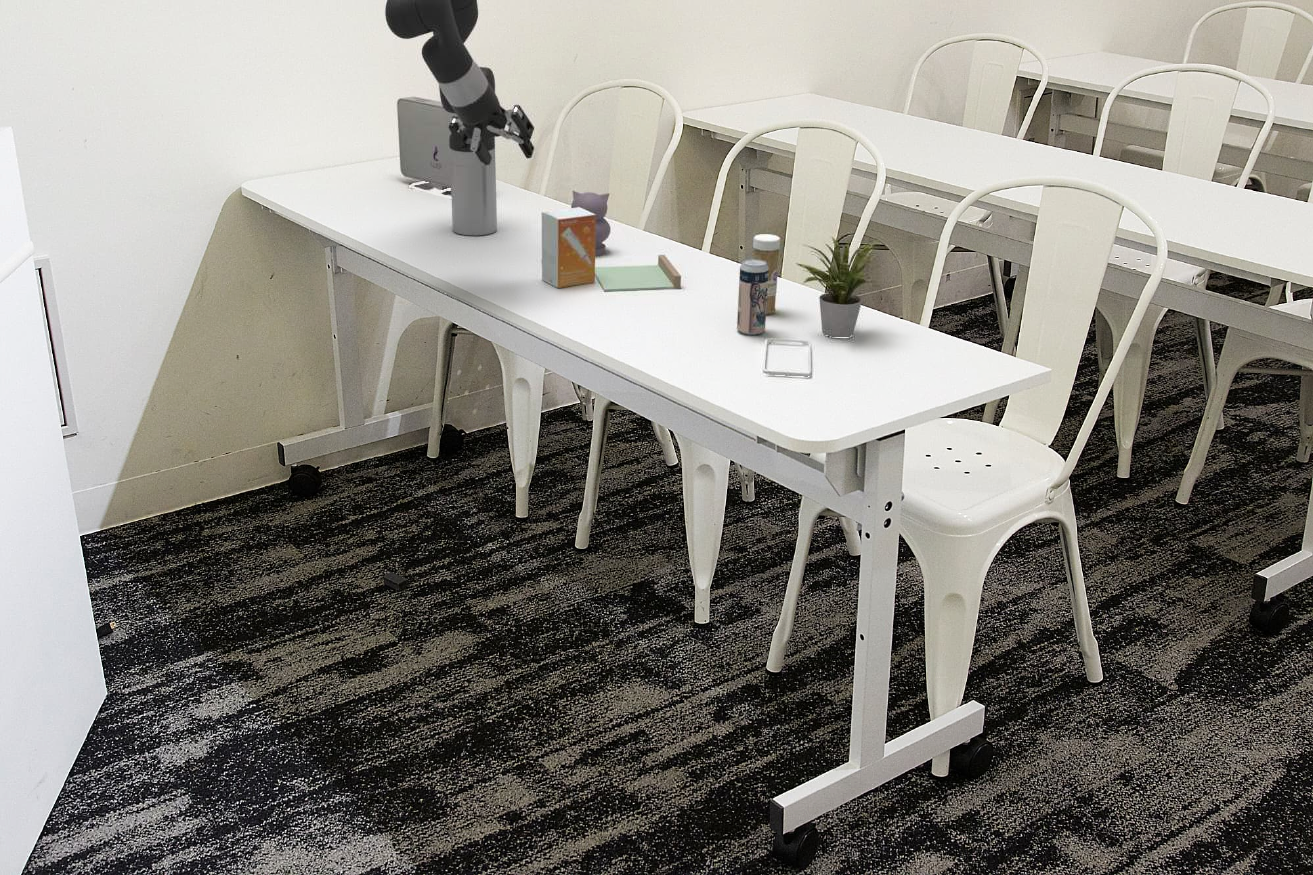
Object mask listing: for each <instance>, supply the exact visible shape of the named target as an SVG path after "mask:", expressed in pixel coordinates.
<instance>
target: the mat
mask: <svg viewBox="0 0 1313 875" xmlns="http://www.w3.org/2000/svg"><path fill="white" fill-rule="evenodd" d="M657 259H658V260H657V261H658V262H657V264H654V265H652V264H651V265H650V264H648V265H647V264H646V265H626V266H625V265H624V266H623V265H622V266H600V267H599V266H598V267H596V266H595V279H597V282H598V283H599V285H600V286H601V288H602V290H603V292H623V291H624V292H626V291H627V292H628V291H631V292H632V291H650V290H652V291H653V290H674V289H675V290H676V289H681V285H682V284H681V282H682V275H681V274H680V273H679V272H678V270H677V269H676V268H675V266H674V265H673V264H672V263H671V262H670V260H669V259H668V257H667V256H666V255H665V254H658V256H657Z"/></svg>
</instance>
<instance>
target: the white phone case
mask: <svg viewBox="0 0 1313 875" xmlns="http://www.w3.org/2000/svg"><path fill="white" fill-rule="evenodd" d="M774 342H787V343H789V342H790V343H801V346H802V345H807V346H808V347H809V349H808V371H806V372H802V371H787V370H786V371H785V370H773V369H772V370H770V369H769V370H768V369H766V361H767V349H768V348H767V346H768V345H770V344H769V343H773V344H774ZM767 344H768V345H767ZM811 345H812V344H811V341H810V340H799V339H784V338H782V339H780V338H766V339H765V341H764V352H763V364H762V366H763V367H762V374H763V373H765V374H769V375H785V376H804V377H808V376H810V375H812V351H811V349H812V348H811ZM807 346H806V347H807ZM808 347H807V348H808Z"/></svg>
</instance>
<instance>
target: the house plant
mask: <svg viewBox="0 0 1313 875" xmlns="http://www.w3.org/2000/svg"><path fill="white" fill-rule="evenodd" d="M831 238H832V239H831V240H832V242H833V243H832V244H833V248H834V249H833V248H831V247H830V245H828V244H827V243H824V244H825V246H826V247H827V248H828V249H829V251H830V253H831V255H832V257H833V260H834V261H835V264H834V263H833V262H832V261H831V260H830V258H829V257H828V256H827V255H826V254H825V253H824V252H822V251H821V250H819V249H818V248H816V247H812V246H810V245H807V244H800V245H802V246H804V247H807V248H811V249H813V251H811V253H815V254H817V255H818V256H817V258H818V259H819V260H820V261H821V262H822V263H823V264H824V266H825V267H826V268H827V270H825V271H823V270H821V269H819V268H816V267H814V266H811V265H807V264H802V263H795V262H794V263H795V264H796V265H797V266H799V267H802V268H804V269H806V270H804V269H803V270H802V271H804V272H807V273H809V274H811V275H812V276H810V277H809V276H808V277H807V278H805V279H804V281H803V282H802V284H805V283H808V282H812V281H813V282H814V281H818V282H819V284H821V285H822V286H823V287H824V288H825V289H826V291H827V292H824V293H822V294H821V295H820V296H819V297H818V298H819V299H818V300H819V309H820V318H821V319H820V321H821V331H822V332H821V334H822V333H823V334H825V335H828V336H831V337H850V336H851V335H854V333H855V328H856V325H857V321H858V318H859V315H860V311H861V306H862V304H863V303H862V302H863V298H861V296H859V295H858V294H854V291H856V289H857V288H859V287H860V286H861V285H864V284H867V283H869V281H867V279H862V277H864V276H866V275H867V276H869V274H868V273H864V272H862V271H863V270H864V269H865V268H866V266H867V265H868V264H870V263H871V262H872V261H871V260H872V259H873V258H874V257H875V256H876V254H874V255H873V256H872V257H871V258H870V259H869V260H868V261H867V262H866V263H864V262H865V261H866V260H867V258H868V257H869V255H870V254H871V252H872V251H873V249H872V247H873V246H874V245H876V244H879V242H881V241H874V242H872V243H869V244H864V245H861V246H859V247H858V248H856V250H855V251H854V253H853V254H852V256H851V258H850V257H849V256H850V243H849V241H848V242H847V243H846V247H845V246H842V252H843V253H842V255H843V256H842V257H841V249H840V245H839V243H838V241H837V240H836V239H835V237H833V236H831ZM862 248H863V249H862ZM861 249H862V250H861ZM815 251H816V252H815ZM859 251H860V252H859ZM857 253H858V255H857ZM811 255H813V256H814V254H811ZM856 255H857V257H856ZM819 256H822V257H819ZM855 257H856V259H855ZM841 258H842V259H841ZM849 259H850V260H849ZM854 259H855V260H854ZM826 262H827V263H828V264H827V263H826ZM853 262H854V264H853V266H852V263H853ZM863 263H864V264H863ZM835 265H836V266H835ZM851 266H852V268H851ZM836 267H837V268H836ZM850 268H851V270H850ZM870 283H872V284H875V285H878V282H876V281H870ZM827 287H828V288H827ZM823 334H822V335H823ZM850 338H851V337H850Z"/></svg>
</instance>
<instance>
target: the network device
mask: <svg viewBox="0 0 1313 875" xmlns="http://www.w3.org/2000/svg"><path fill="white" fill-rule="evenodd" d="M396 109H397V110H396V112H397V113H396V114H397V125H398V126H397V129H398V131H397V132H398V148H399V151H398V152H399V165H400V168H399V169H400V173H401V175H402V176H403V177H406V178H410V179H413V180H417V181H425V182H429V183H428V184H432V185H433V187H432V188H436V189H438V190H444V189H447V188H451V171H450V147H449V137H450V135H451V131H450V130H449V124H450V121H451V119H452V117H453V116H457V114H455V113H449V112H447V111H446V110H445V109H444V108H443V105H442V103H441V101H439V100H433V99H428V98H423V97H418V96H417V97H416V96H407V97H402V98H401V97H400V98H398V99H397V101H396ZM457 117H458V116H457ZM458 118H459V117H458ZM464 128H465V127H464Z"/></svg>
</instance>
